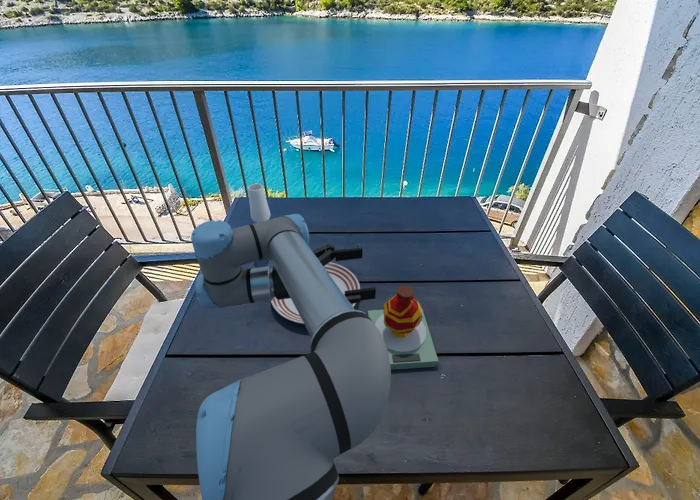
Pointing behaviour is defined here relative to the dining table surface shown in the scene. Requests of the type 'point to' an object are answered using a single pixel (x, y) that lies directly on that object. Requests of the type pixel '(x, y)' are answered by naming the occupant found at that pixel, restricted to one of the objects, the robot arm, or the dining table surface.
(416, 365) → the kitchen scale
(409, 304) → the potion bottle
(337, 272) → the dinner plate
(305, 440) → the robot arm
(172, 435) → the dining table surface
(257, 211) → the champagne flute
